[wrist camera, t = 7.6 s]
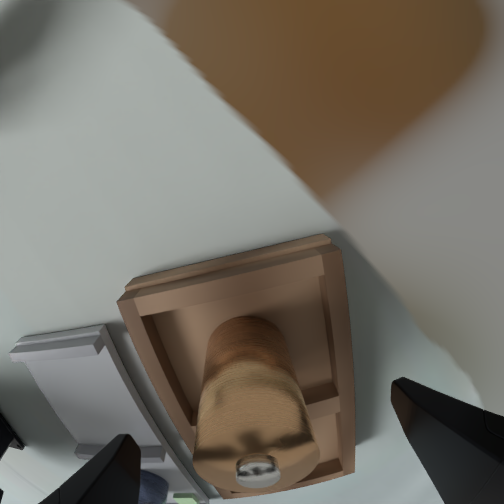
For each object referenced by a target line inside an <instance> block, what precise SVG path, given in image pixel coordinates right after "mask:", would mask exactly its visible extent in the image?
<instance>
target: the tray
mask: <svg viewBox="0 0 504 504" xmlns="http://www.w3.org/2000/svg"><path fill="white" fill-rule="evenodd" d="M125 290H126V292H125V293H124V294H123V295H122V296H121V297H120V299H119V300H118V301H117V305H118V307H119V310H120V313H121V315H122V318H123V320H124V323H125V325H126V327H127V330H128V332H129V335H130V337H131V339H132V342H133V344H134V346H135V348H136V351H137V353H138V355H139V357H140V359H141V362H142V364H143V366H144V368H145V370H146V372H147V374H148V376H149V378H150V380H151V382H152V384H153V386H154V388H155V390H156V392H157V394H158V396H159V398H160V400H161V402H162V404H163V405H164V407H165V409H166V411H167V413H168V415H169V416H170V418H171V420H172V422H173V423H174V425H175V427H176V429H177V430H178V432H179V434H180V435H181V437H182V439H183V440H184V442H185V444H186V445H187V447H188V448H189V450H190V452H191V453H192V455H193V451H194V442H195V434H196V426H197V418H198V410H199V402H200V395H201V387H202V380H203V373H204V366H205V359H206V352H207V345H208V341H209V338H210V336H211V334H212V333H213V331H214V330H215V329H216V328H217V327H218V326H219V325H220V324H222V323H223V322H225V321H227V320H229V319H231V318H235V317H239V316H256V317H260V318H264V319H266V320H268V321H270V322H272V323H273V324H274V325H276V326H277V327H278V328H279V329H280V331H281V332H282V334H283V336H284V338H285V341H286V344H287V348H288V351H289V354H290V357H291V360H292V363H293V367H294V370H295V373H296V376H297V379H298V383H299V386H300V389H301V392H302V395H303V398H304V402H305V405H306V408H307V411H308V414H309V418H310V421H311V424H312V427H313V430H314V434H315V437H316V440H317V443H318V447H319V450H320V459H319V462H318V464H317V466H316V467H315V469H314V470H313V471H312V472H311V473H310V474H309V475H307V476H306V477H305V478H303V479H302V480H300V481H298V482H296V483H294V484H292V485H290V486H287V487H284V488H281V489H278V490H273V491H268V492H259V493H243V492H234V491H229V490H225V489H222V488H219V487H216V486H214V485H213V486H214V487H215V488H216V490H217V491H218V493H219V494H220V495H221V497H222V498H223V499H233V498H242V497H250V496H257V495H264V494H270V493H276V492H281V491H286V490H291V489H296V488H300V487H305V486H309V485H313V484H317V483H321V482H324V481H328V480H332V479H335V478H338V477H342V476H345V475H348V474H351V473H354V472H355V391H354V370H353V354H352V341H351V329H350V318H349V308H348V299H347V290H346V282H345V274H344V267H343V260H342V253H341V249H339V248H338V247H336V246H335V245H333V244H332V243H331V239H330V238H329V237H327V236H325V235H324V234H319V235H314V236H310V237H306V238H302V239H298V240H293V241H289V242H285V243H281V244H276V245H272V246H268V247H264V248H259V249H255V250H251V251H247V252H243V253H238V254H234V255H230V256H226V257H222V258H217V259H213V260H209V261H205V262H200V263H196V264H192V265H188V266H184V267H179V268H175V269H171V270H167V271H163V272H158V273H154V274H150V275H146V276H142V277H137V278H133V279H132V280H131V281H130V282H129V283H128V284H127V285H126V286H125Z"/></svg>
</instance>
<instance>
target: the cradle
mask: <svg viewBox="0 0 504 504" xmlns="http://www.w3.org/2000/svg"><path fill="white" fill-rule="evenodd" d="M15 344H16V347H15V348H14V349H13V350H11V351H10V352H9V353H8V355H9V356H10V358H11V360H12V362H25V364H26V365H27V367H28V369H29V371H30V373H31V374H32V376H33V378H34V380H35V381H36V383H37V385H38V386H39V388H40V390H41V391H42V393H43V395H44V396H45V398H46V399H47V401H48V402H49V404H50V405H51V407H52V408H53V410H54V411H55V413H56V414H57V416H58V417H59V419H60V420H61V421H62V423H63V424H64V426H65V427H66V428H67V430H68V431H69V432H70V434H71V435H72V436H73V438H74V439H75V440H76V441H77V443H78V446H77V448H76V451H75V455H76V456H77V457H78V458H80V459H88V460H90V459H92V458H93V457H94V456H95V455H96V454H97V453H98V452H99V451H100V450H101V449H103V448H104V447H105V446H106V445H107V444H108V443H109V442H110V441H111V440H112V439H113V438H114V437H116V436H117V435H118V434H130V435H131V436H132V437H133V439H134V440H135V442H136V443H137V444H138V446H139V447H140V450H141V470H145V471H149V472H152V473H154V474H156V475H158V476H160V477H162V478H163V479H165V480H166V481H167V482H168V484H169V490H168V496H167V503H166V504H209V498H208V497H207V496H206V495H205V493H204V492H203V491H202V490H201V488H200V487H199V486H198V485H197V483H196V482H195V481H194V479H193V478H192V477H191V475H190V474H189V473H188V471H187V470H186V469H185V467H184V466H183V464H182V463H181V462H180V460H179V459H178V457H177V456H176V454H175V453H174V451H173V450H172V448H171V447H170V445H169V444H168V442H167V441H166V439H165V438H164V436H163V435H162V433H161V432H160V430H159V428H158V427H157V425H156V423H155V422H154V420H153V419H152V417H151V415H150V413H149V412H148V410H147V408H146V407H145V405H144V403H143V401H142V400H141V398H140V396H139V394H138V392H137V390H136V389H135V387H134V385H133V383H132V381H131V379H130V377H129V375H128V373H127V371H126V369H125V367H124V365H123V363H122V361H121V359H120V357H119V355H118V353H117V351H116V349H115V346H114V344H113V342H112V340H111V338H110V335H109V333H108V331H107V328H106V326H105V324H103V325H97V326H92V327H86V328H80V329H74V330H68V331H61V332H55V333H48V334H42V335H35V336H28V337H21V338H20V339H19V340H18V341H17V342H16V343H15Z"/></svg>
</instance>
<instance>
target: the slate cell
mask: <svg viewBox="0 0 504 504" xmlns="http://www.w3.org/2000/svg"><path fill="white" fill-rule="evenodd" d="M168 490H169V484H168V482H167V481H166V480H165V479H163V478H162V477H160V476H158V475H156V474H154V473H152V472H149V471H145V470H141V480H140V494H139V501H138V504H166V503H167V496H168Z"/></svg>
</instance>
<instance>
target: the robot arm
mask: <svg viewBox="0 0 504 504" xmlns="http://www.w3.org/2000/svg"><path fill="white" fill-rule="evenodd" d="M391 403H392V405H393V408H394V410H395V412H396V414H397V417H398V419H399V421H400V424H401V426H402V428H403V431H404V433H405V435H406V437H407V439H408V441H409V443H410V444H411V446H412V448H413V449H414V451H415V453H416V454H417V456H418V458H419V459H420V461H421V463H422V465H423V466H424V468H425V470H426V472H427V473H428V475H429V477H430V478H431V480H432V482H433V484H434V485H435V487H436V489H437V491H438V493H439V494H440V496H441V498H442V500H443V501H444V503H445V504H504V417H503V416H500V415H497V414H494V413H492V412H489V411H486V410H484V411H483V409H481V408H478V407H476V406H473V405H470V404H468V403H465V402H463V401H460V400H458V399H455V398H453V397H450V396H448V395H445V394H443V393H441V392H438V391H436V390H433V389H431V388H429V387H426V386H424V385H421V384H419V383H417V382H414V381H412V380H410V379H408V378H405V377H401V378H398V379H396V380H394V381H393V382H392V385H391ZM8 447H13V448H16V449H20V450H23V449H24V447H25V446H24V445H23V443H22V442H21V441H20V440H19V438H18V437H17V436H16V435H15V433H14V432H13V431H12V429H11V428H10V427H9V425H8V424H7V423H6V421H5V420H4V418H3V417H2V416H1V414H0V460H1V458H2V457H3V455H4V454H5V452H6V450H7V449H8ZM140 480H141V450H140V447H139V446H138V444H137V443H136V442H135V440H134V439H133V437H132V436H131V435H130V434H118V435H117V436H116V437H114V438H113V439H112V440H111V441H110V442H109V443H108V444H107V445H106V446H105V447H104V448H103V449H101V450H100V451H99V452H98V453H97V454H96V455H95V456H94V457H93V458H92V459H90V460H89V461H88V462H87V463H86V464H85V465H84V466H83V467H81V468H80V469H79V470H78V471H77V472H76V473H75V474H74V475H72V476H71V477H70V478H69V479H68V480H67V481H66V482H64V483H63V484H62V485H61V486H60V487H59V488H57V489H56V490H55V491H54V492H53V493H52V494H50V495H49V496H48V497H47V498H45V499H44V500H43V501H41V502H40V503H38V504H138V501H139V494H140ZM3 492H4V491H3V490H2V489H0V503H1V500H2V496H3Z"/></svg>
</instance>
